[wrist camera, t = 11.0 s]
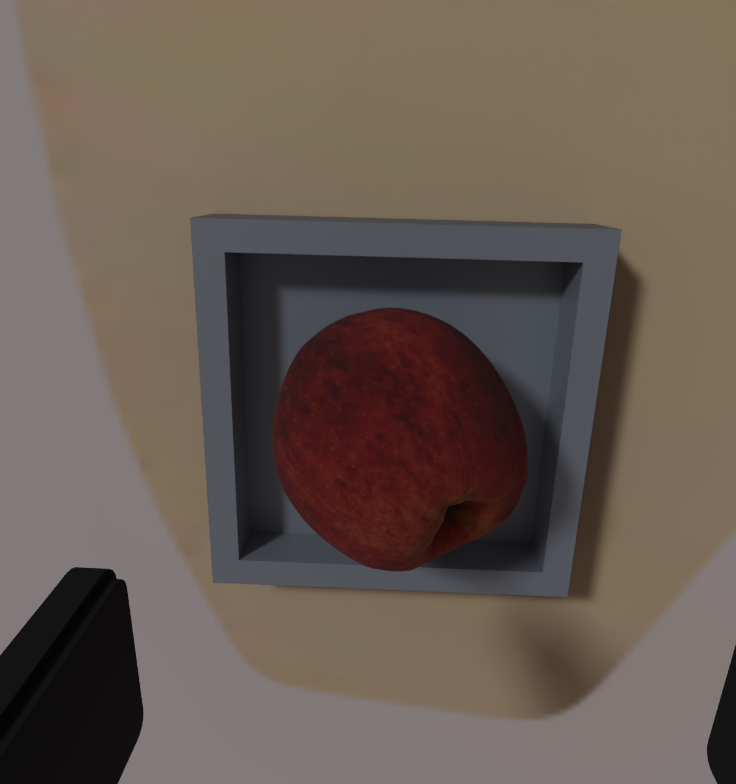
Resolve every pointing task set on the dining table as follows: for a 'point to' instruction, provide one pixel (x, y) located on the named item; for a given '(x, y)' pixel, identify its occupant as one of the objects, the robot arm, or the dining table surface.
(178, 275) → the dining table surface
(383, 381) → the apple
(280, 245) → the tray
